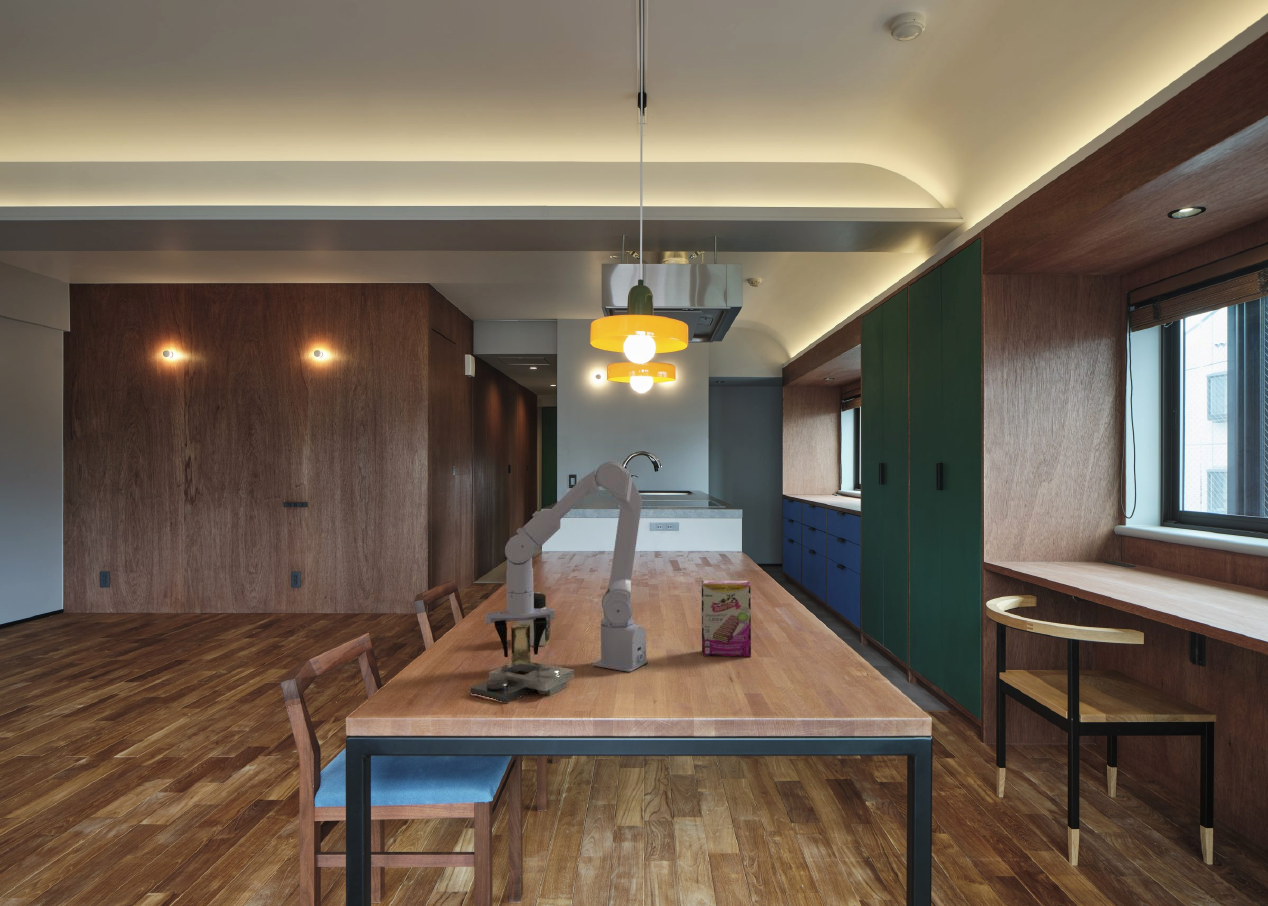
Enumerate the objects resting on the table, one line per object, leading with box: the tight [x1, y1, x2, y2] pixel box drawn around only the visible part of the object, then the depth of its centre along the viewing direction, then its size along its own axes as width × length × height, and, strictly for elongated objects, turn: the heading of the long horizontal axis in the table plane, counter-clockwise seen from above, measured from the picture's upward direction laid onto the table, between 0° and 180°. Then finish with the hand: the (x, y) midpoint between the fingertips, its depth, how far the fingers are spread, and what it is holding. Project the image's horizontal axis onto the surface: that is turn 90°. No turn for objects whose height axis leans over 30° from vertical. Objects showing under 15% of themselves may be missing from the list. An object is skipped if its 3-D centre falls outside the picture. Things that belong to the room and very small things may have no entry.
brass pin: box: [510, 623, 531, 663], centre depth 138 cm, size 4×4×9 cm
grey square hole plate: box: [488, 660, 575, 696], centre depth 126 cm, size 14×9×4 cm, turn 60°
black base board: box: [470, 671, 536, 704], centre depth 125 cm, size 14×9×2 cm, turn 150°
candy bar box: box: [701, 579, 752, 658], centre depth 146 cm, size 11×5×16 cm, turn 84°
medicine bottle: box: [516, 592, 551, 647], centre depth 159 cm, size 7×7×12 cm
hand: (520, 654), depth 138 cm, fingers open, 6 cm apart
